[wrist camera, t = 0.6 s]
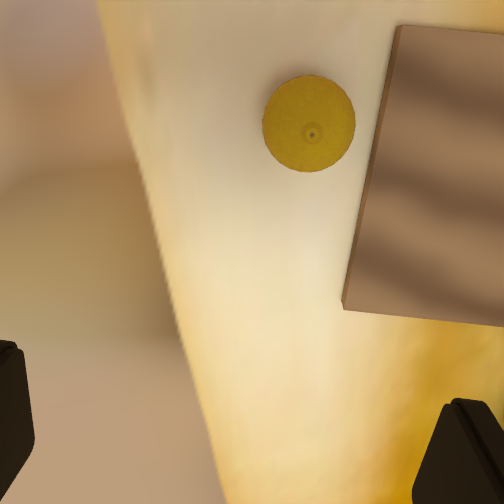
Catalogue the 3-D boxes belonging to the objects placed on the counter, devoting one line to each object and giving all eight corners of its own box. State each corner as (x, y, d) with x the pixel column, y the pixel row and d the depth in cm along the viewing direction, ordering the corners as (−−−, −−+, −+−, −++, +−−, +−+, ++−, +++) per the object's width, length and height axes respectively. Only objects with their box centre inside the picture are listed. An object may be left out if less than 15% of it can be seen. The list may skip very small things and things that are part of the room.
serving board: (396, 26, 27) (402, 24, 26) (652, 51, 27) (672, 50, 25) (341, 300, 35) (343, 310, 34) (537, 321, 35) (547, 331, 33)
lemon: (272, 67, 28) (269, 68, 21) (353, 81, 28) (379, 87, 21) (258, 150, 31) (251, 177, 23) (334, 163, 31) (351, 194, 23)
